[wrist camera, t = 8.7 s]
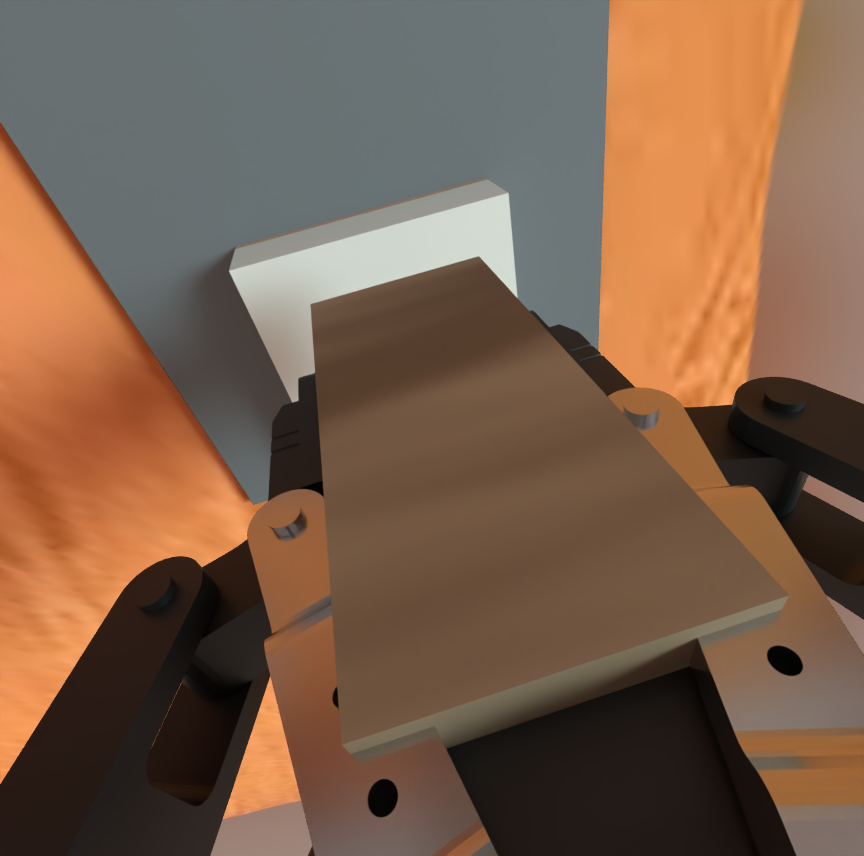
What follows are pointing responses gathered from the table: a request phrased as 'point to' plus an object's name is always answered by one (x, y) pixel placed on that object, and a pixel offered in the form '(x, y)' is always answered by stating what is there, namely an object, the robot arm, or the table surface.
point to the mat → (299, 153)
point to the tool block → (498, 519)
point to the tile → (365, 261)
